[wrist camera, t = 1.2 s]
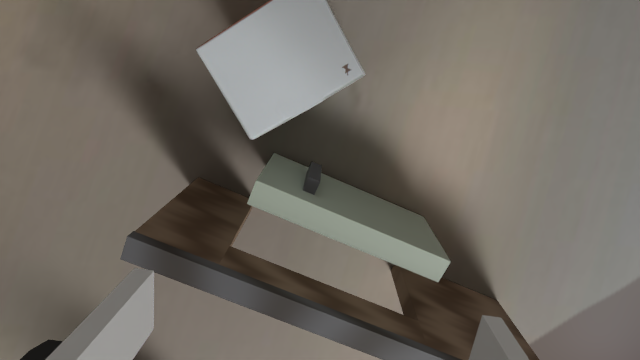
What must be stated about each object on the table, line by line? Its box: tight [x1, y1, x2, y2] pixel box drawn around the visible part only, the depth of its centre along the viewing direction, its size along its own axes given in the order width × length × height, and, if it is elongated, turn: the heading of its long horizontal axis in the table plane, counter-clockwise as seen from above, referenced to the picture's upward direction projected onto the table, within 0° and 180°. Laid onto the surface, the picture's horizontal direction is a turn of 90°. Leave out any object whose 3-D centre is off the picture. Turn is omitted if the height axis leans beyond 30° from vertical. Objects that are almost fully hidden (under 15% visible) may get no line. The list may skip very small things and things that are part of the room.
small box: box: [196, 0, 365, 140], centre depth 28 cm, size 8×6×13 cm
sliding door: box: [247, 153, 451, 282], centre depth 33 cm, size 16×3×9 cm, turn 66°
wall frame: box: [120, 177, 539, 360], centre depth 33 cm, size 34×2×14 cm, turn 66°
